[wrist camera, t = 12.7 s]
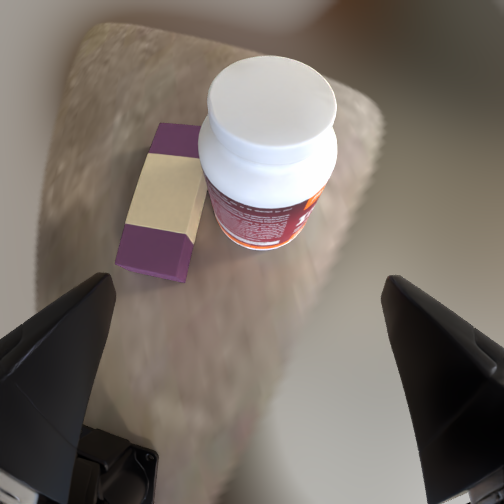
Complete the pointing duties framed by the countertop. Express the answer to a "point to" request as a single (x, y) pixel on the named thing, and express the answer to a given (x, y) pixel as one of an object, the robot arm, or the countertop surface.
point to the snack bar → (165, 206)
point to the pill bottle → (267, 148)
